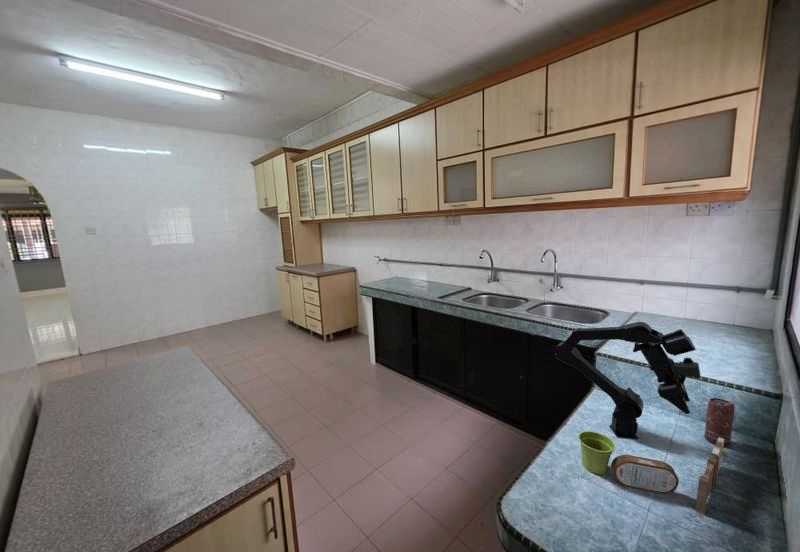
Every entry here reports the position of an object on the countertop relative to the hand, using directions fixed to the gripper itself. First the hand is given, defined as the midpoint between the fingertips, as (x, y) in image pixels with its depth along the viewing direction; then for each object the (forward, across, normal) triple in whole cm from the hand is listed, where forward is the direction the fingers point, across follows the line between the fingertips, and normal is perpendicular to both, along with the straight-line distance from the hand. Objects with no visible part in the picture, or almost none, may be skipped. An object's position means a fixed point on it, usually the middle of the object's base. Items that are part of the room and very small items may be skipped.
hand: (688, 407), depth 101 cm
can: (+18, +14, +1) cm, 22 cm away
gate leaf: (+16, -8, +2) cm, 18 cm away
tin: (+9, -26, +15) cm, 31 cm away
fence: (+15, -20, +4) cm, 26 cm away
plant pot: (+3, -25, +25) cm, 36 cm away
